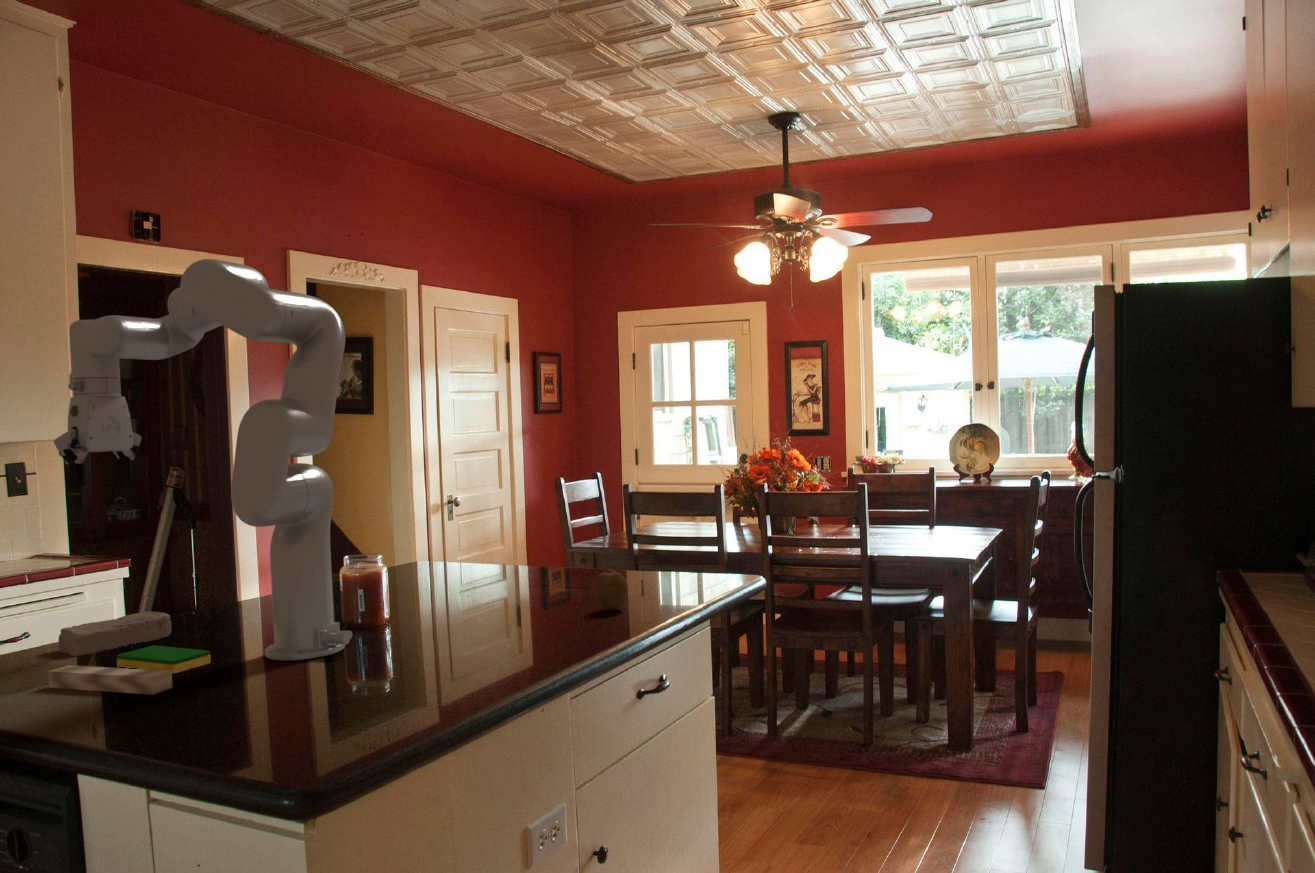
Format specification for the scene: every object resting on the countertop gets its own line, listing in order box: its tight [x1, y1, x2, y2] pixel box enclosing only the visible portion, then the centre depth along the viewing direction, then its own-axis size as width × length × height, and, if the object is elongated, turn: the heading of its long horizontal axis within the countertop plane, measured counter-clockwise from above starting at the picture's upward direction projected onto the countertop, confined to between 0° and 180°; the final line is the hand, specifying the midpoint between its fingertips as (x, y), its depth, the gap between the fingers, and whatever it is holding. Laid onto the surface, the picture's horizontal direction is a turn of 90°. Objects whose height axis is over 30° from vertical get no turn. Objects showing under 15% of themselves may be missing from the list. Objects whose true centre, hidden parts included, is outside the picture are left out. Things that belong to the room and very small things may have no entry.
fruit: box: [594, 568, 628, 612], centre depth 187 cm, size 6×6×8 cm
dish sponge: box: [116, 645, 211, 675], centre depth 158 cm, size 7×14×2 cm, turn 64°
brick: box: [58, 611, 172, 657], centre depth 176 cm, size 17×8×5 cm, turn 142°
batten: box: [48, 664, 173, 696], centre depth 145 cm, size 20×4×2 cm, turn 72°
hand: (102, 484), depth 175 cm, fingers open, 9 cm apart
